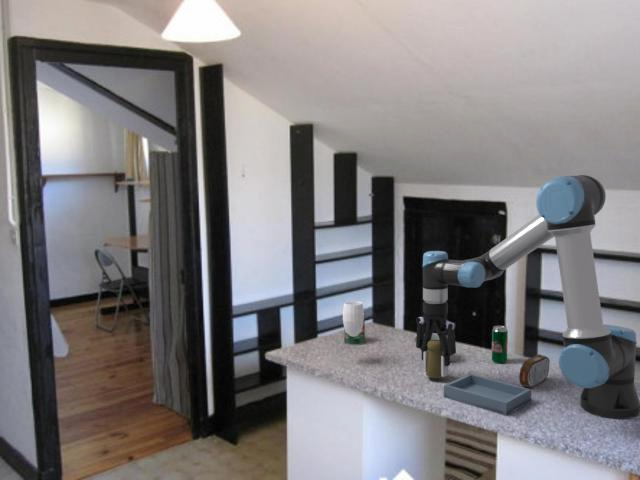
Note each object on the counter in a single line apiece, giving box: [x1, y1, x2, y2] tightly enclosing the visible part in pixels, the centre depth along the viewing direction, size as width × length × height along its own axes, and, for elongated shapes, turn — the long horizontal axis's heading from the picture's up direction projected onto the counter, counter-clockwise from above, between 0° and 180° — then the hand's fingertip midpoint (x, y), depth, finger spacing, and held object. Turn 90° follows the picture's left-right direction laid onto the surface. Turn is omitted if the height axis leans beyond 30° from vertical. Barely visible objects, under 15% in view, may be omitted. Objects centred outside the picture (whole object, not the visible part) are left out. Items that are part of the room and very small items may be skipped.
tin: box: [518, 353, 551, 389], centre depth 197 cm, size 15×3×8 cm, turn 135°
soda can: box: [491, 325, 509, 364], centre depth 219 cm, size 5×5×12 cm
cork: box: [425, 340, 443, 378], centre depth 202 cm, size 6×6×11 cm
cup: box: [342, 300, 365, 337], centre depth 220 cm, size 7×7×21 cm
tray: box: [443, 373, 532, 416], centre depth 186 cm, size 20×14×4 cm
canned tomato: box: [343, 313, 366, 346], centre depth 244 cm, size 8×8×11 cm
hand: (435, 373), depth 203 cm, fingers closed on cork, 6 cm apart
